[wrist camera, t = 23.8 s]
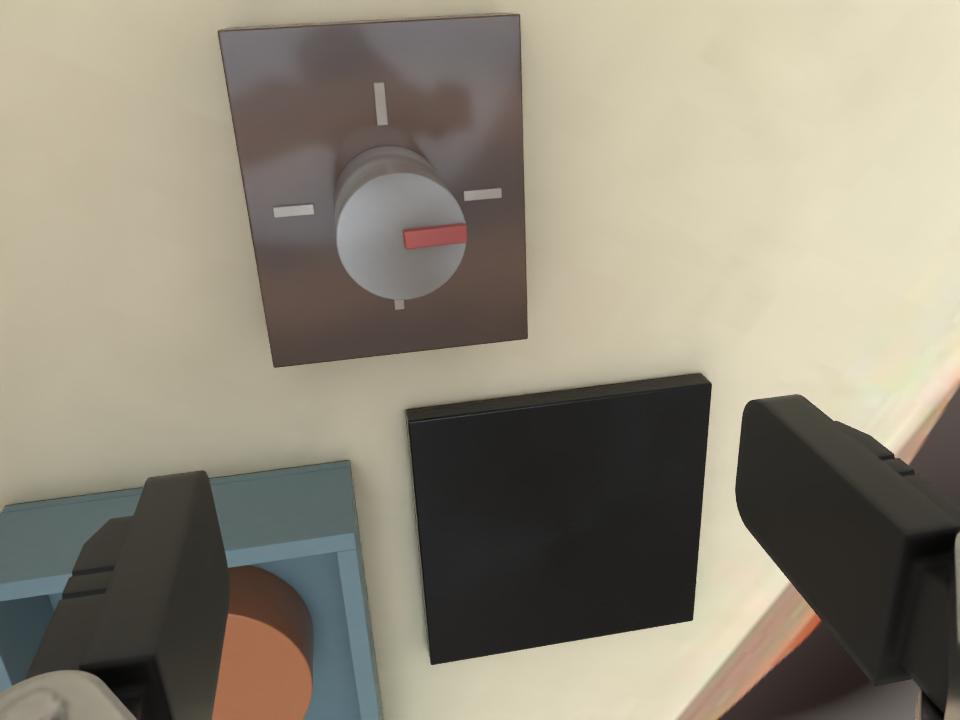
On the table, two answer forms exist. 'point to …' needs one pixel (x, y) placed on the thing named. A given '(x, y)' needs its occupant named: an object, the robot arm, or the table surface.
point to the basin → (247, 541)
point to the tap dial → (397, 224)
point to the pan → (264, 650)
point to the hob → (558, 514)
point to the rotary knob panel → (368, 124)
